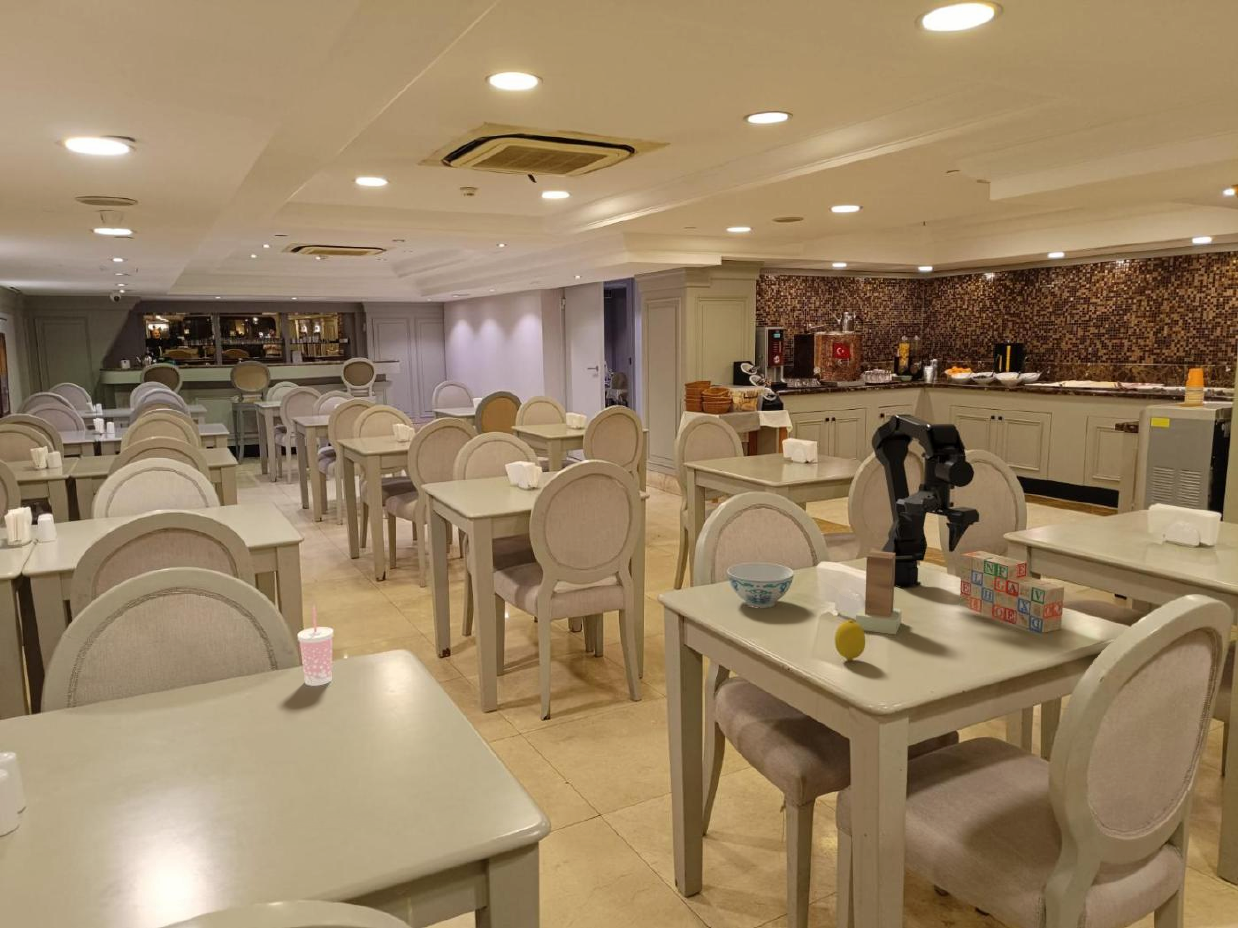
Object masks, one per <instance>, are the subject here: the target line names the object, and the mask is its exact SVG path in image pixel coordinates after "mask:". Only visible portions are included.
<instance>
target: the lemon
mask: <svg viewBox="0 0 1238 928" xmlns="http://www.w3.org/2000/svg"><path fill="white" fill-rule="evenodd" d="M834 644H835V648H836V651H837V652H838V654H839V655H840V656H842V657H843V658H845V659H846V660H847V661H848V662H851V661H853V660H854V659H857V658H858V657H860V656H861V655H862V654H863V652H864V650H865V648H866V647H865V646H866V635H865V630H863V629H862V627H861V626H860V625H859V624H857V623H856V621H854V620H853V619H848V620H847V621H844V622H842V623H841V624H839V625H838V627H837V629H836V632H835V634H834Z"/></svg>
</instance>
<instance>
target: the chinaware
mask: <svg viewBox="0 0 1238 928" xmlns="http://www.w3.org/2000/svg"><path fill="white" fill-rule="evenodd" d="M726 571H727V577H728V581H729V584H730V586H731V588H732V589H733V591H734V592H735V594H737V595H738V596H739V598H741V600H744V604H745V605H746V604H747V606H748V605H749V606H748V607H750V606H753V607H752V608H754V607H760V608H759V609H766V608H765V607H769V608H772V607H774V606H775V605H776V602H778V601H779V600H780V599H782V598H783V596H785V595H786V593H787V592H788V591H789V590H790V587H791V585H792V583H793V579H794V574H795V572H794V570H793V569H791V568H789V567H787V566H784V565H780V564H776V563H768V562H767V563H766V562H744V563H739V564H735V565H732V566H730V567H728V569H727V570H726ZM774 604H775V605H774ZM773 605H774V606H773ZM771 606H772V607H771Z"/></svg>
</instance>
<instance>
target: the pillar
mask: <svg viewBox="0 0 1238 928" xmlns="http://www.w3.org/2000/svg"><path fill="white" fill-rule="evenodd" d="M865 569H866V570H865V571H866V573H865V597H864V601H865V602H864V605H865V614H868V615H876V616H883V617H890V616H891V614H892V612H893V608H894V603H895V602H894V600H895V599H894V596H895V586H894V576H895V553H891V552H882V551H878V550H877V551H876V550H870V551H869V553H868V554H867V555H866V568H865Z"/></svg>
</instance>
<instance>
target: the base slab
mask: <svg viewBox="0 0 1238 928" xmlns="http://www.w3.org/2000/svg"><path fill="white" fill-rule="evenodd" d="M855 622H856V623H857V624H859V625H860V626H861V627H862V629H863V631H867V632H875V633H882V634H888V635H896V634H897V633H898V631H899V627H900V625H901V624H902V608H896V607H895V608H894V607H893V612H892V614H891V616H890V617H883V616H876V615H868V614H865V610H861V609H859V610H858V611H857V613H856V615H855Z"/></svg>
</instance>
